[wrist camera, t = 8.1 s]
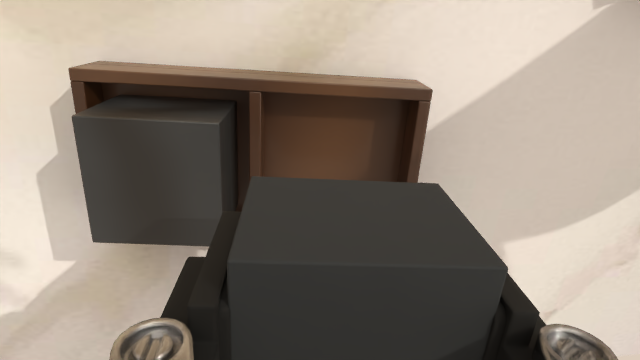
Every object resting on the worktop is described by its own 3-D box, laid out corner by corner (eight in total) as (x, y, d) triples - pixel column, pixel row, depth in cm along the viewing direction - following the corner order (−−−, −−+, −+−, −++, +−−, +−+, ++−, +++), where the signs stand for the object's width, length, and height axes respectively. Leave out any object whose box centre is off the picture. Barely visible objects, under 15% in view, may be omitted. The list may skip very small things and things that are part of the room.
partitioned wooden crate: (417, 79, 19) (454, 101, 14) (395, 222, 22) (420, 279, 17) (98, 60, 18) (26, 77, 13) (118, 211, 21) (65, 268, 16)
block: (438, 182, 11) (510, 267, 7) (411, 329, 13) (457, 457, 9) (251, 175, 11) (226, 260, 7) (251, 327, 12) (231, 459, 9)
